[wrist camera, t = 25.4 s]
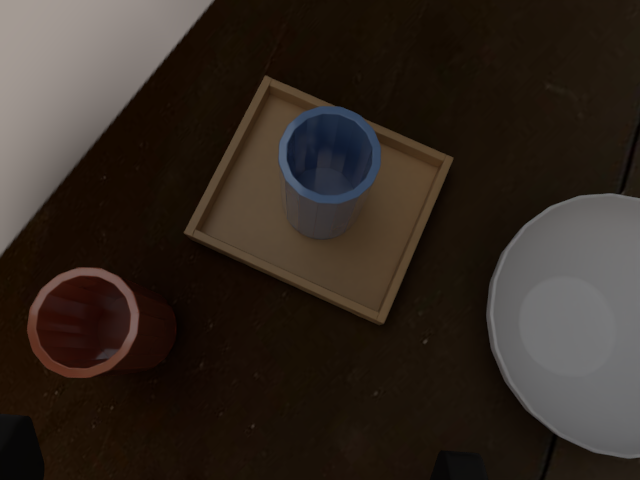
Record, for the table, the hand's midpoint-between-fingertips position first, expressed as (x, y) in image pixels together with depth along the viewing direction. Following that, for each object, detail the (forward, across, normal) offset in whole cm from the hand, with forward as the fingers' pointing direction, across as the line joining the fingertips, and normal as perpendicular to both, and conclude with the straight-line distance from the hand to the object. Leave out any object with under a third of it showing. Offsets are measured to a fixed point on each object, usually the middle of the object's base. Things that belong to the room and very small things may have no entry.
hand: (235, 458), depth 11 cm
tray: (+30, -2, +11) cm, 32 cm away
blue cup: (+29, -2, +10) cm, 31 cm away
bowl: (+24, -20, +16) cm, 36 cm away
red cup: (+22, +10, +18) cm, 31 cm away
